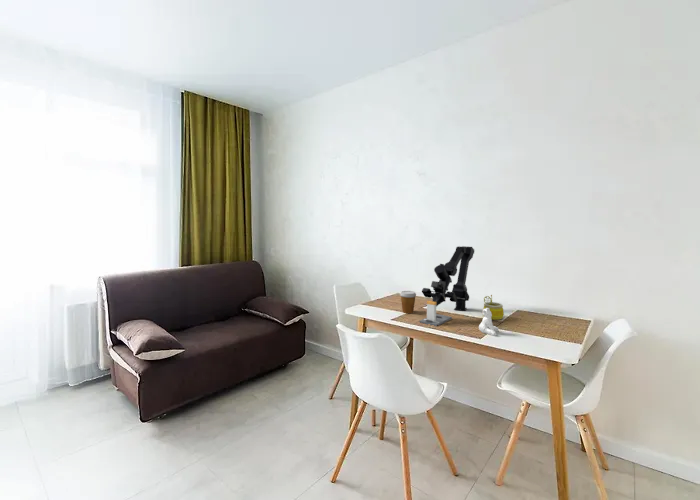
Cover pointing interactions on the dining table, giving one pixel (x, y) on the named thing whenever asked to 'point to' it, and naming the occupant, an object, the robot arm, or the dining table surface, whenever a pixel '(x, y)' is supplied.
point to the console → (439, 320)
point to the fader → (431, 310)
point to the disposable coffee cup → (408, 301)
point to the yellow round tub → (494, 309)
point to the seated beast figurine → (488, 323)
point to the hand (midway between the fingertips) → (433, 307)
